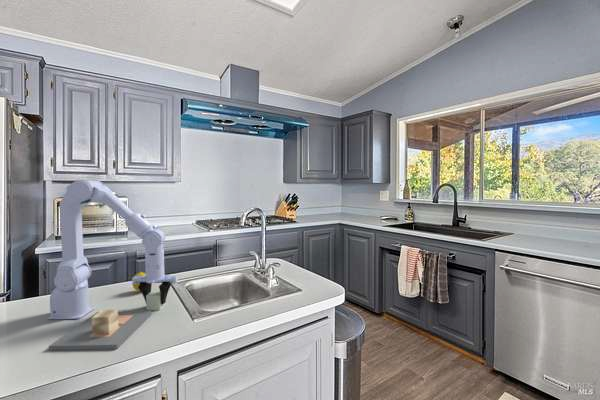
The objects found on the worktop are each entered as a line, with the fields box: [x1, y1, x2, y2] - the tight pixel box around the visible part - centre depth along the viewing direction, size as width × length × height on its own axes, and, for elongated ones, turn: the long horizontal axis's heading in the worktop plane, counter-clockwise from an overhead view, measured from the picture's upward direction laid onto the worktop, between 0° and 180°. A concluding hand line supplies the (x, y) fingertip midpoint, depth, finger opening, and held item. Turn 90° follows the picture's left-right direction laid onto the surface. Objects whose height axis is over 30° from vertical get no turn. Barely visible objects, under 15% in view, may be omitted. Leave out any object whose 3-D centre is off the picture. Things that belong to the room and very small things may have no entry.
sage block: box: [145, 290, 166, 311], centre depth 99 cm, size 4×4×5 cm
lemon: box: [132, 271, 146, 293], centre depth 112 cm, size 6×6×8 cm
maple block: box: [92, 309, 119, 335], centre depth 81 cm, size 4×4×5 cm
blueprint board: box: [48, 310, 152, 351], centre depth 83 cm, size 17×19×1 cm
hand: (155, 303), depth 99 cm, fingers closed on sage block, 4 cm apart
